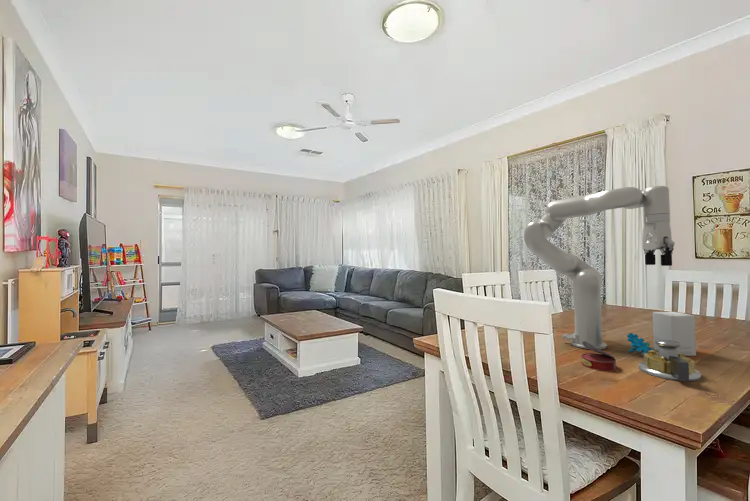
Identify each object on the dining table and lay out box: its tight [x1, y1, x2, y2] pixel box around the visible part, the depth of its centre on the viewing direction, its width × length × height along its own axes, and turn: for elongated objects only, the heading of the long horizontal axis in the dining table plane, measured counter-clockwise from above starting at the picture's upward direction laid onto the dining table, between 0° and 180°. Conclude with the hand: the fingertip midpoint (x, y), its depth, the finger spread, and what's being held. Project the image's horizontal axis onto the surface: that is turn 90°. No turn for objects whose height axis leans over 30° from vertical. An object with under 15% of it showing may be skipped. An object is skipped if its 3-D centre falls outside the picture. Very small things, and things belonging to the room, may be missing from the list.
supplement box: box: [652, 311, 697, 357], centre depth 128 cm, size 9×9×15 cm
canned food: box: [581, 341, 617, 372], centre depth 116 cm, size 11×10×10 cm
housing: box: [638, 340, 702, 382], centre depth 108 cm, size 15×15×10 cm
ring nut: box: [642, 349, 696, 380], centre depth 105 cm, size 17×12×5 cm
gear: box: [626, 332, 654, 355], centre depth 128 cm, size 11×6×10 cm
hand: (658, 265), depth 126 cm, fingers open, 9 cm apart
